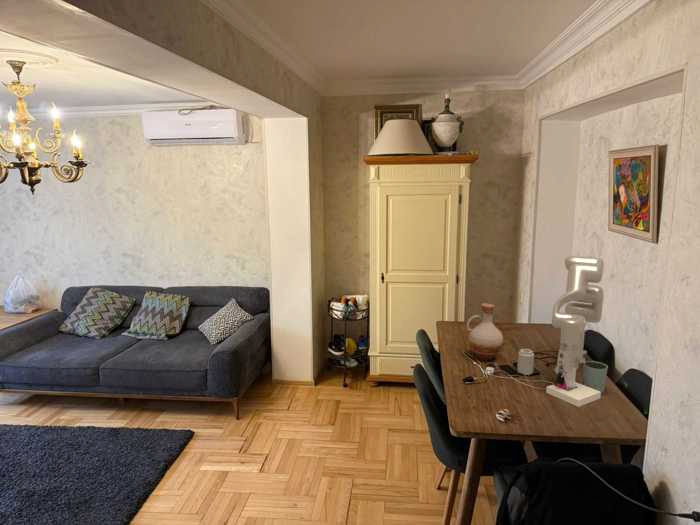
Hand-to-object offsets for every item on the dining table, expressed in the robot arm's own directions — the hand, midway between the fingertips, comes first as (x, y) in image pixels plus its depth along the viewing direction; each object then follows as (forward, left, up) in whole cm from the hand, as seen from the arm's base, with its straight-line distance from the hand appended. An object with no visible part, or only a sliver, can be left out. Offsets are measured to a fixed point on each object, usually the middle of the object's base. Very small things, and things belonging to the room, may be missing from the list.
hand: (565, 382), depth 218 cm
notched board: (0, +4, -5) cm, 6 cm away
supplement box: (0, 0, -4) cm, 4 cm away
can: (-2, -24, -5) cm, 25 cm away
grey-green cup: (-14, +5, -5) cm, 16 cm away
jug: (0, -50, -5) cm, 50 cm away
